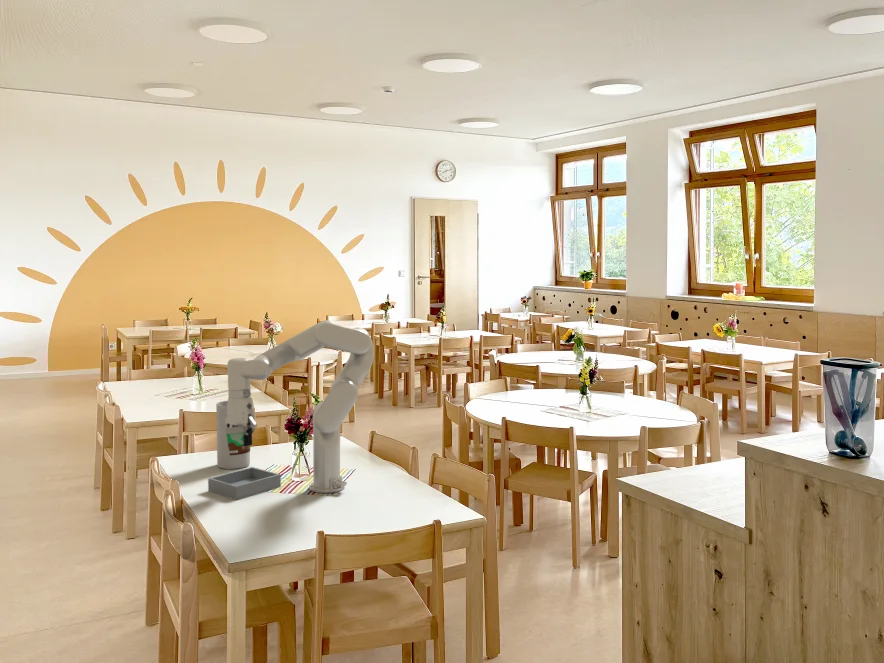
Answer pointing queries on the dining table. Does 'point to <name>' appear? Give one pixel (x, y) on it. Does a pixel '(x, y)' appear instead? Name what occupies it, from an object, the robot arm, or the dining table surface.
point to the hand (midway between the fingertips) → (241, 443)
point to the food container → (236, 440)
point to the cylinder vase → (222, 444)
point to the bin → (244, 483)
